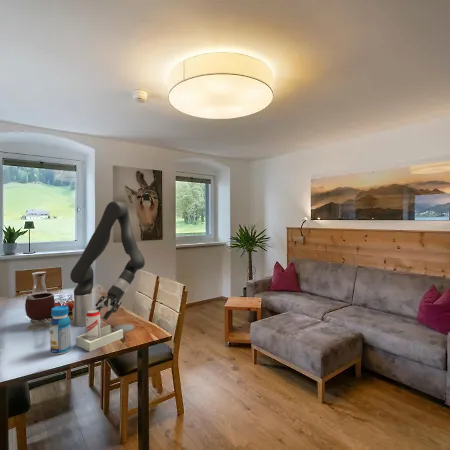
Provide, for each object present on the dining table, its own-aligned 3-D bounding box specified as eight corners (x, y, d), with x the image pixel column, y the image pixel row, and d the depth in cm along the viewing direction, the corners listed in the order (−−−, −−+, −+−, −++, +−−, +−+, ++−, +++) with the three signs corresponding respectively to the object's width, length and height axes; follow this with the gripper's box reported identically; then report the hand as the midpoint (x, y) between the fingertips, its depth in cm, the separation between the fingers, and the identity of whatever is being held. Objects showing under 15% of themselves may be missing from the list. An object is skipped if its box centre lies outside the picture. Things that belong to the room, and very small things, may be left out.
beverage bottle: (69, 354, 130) (68, 309, 130) (47, 356, 128) (46, 311, 127) (73, 345, 138) (72, 304, 138) (53, 348, 136) (52, 305, 135)
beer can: (89, 341, 143) (88, 309, 143) (102, 340, 144) (102, 308, 143) (84, 347, 137) (83, 313, 136) (98, 346, 138) (97, 313, 137)
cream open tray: (89, 351, 133) (89, 342, 133) (76, 345, 139) (75, 337, 139) (123, 337, 148) (123, 329, 147) (109, 332, 154) (109, 324, 154)
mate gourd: (46, 319, 172) (46, 286, 171) (60, 324, 165) (59, 289, 164) (17, 328, 159) (16, 292, 158) (30, 334, 152) (29, 296, 151)
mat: (109, 332, 154) (109, 331, 154) (118, 324, 165) (118, 323, 165) (129, 333, 153) (129, 332, 153) (137, 325, 164) (137, 324, 164)
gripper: (105, 283, 153) (85, 310, 144) (123, 286, 145) (102, 316, 136) (114, 290, 158) (95, 318, 149) (132, 294, 150) (113, 324, 141)
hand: (99, 317), depth 142 cm, fingers open, 8 cm apart
